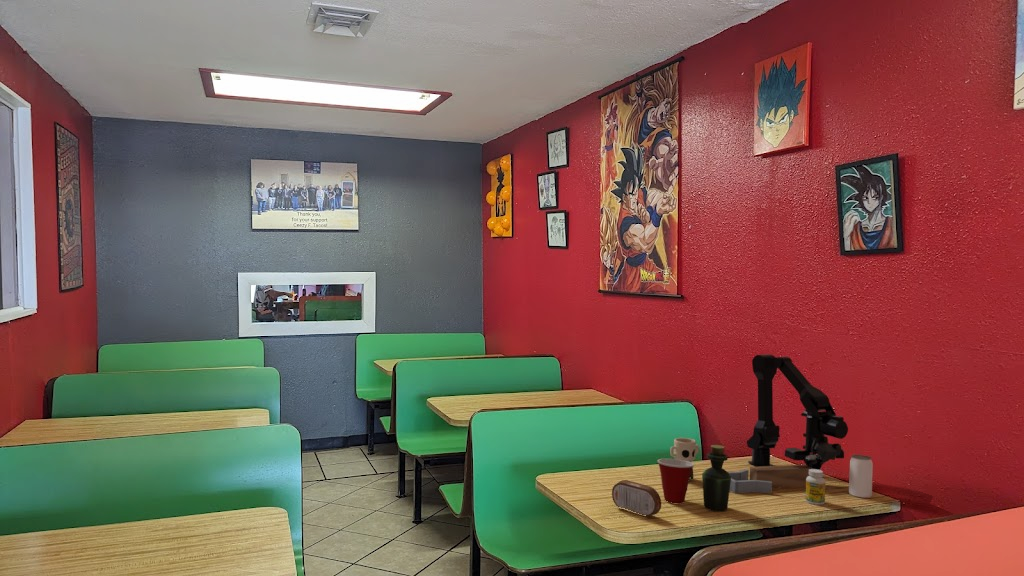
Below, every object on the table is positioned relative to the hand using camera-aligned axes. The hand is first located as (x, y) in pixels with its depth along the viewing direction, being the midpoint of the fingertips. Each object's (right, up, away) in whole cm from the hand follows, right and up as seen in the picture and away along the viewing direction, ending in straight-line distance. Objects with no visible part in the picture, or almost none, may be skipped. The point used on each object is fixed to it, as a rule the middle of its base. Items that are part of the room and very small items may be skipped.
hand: (813, 479), depth 232 cm
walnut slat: (-12, -1, -3) cm, 13 cm away
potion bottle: (-40, -1, -27) cm, 48 cm away
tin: (-64, -1, -32) cm, 72 cm away
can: (+10, -2, -11) cm, 15 cm away
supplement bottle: (-8, -2, -19) cm, 21 cm away
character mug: (-42, -1, +1) cm, 42 cm away
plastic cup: (-51, -1, -21) cm, 55 cm away
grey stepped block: (-25, -1, -6) cm, 26 cm away
